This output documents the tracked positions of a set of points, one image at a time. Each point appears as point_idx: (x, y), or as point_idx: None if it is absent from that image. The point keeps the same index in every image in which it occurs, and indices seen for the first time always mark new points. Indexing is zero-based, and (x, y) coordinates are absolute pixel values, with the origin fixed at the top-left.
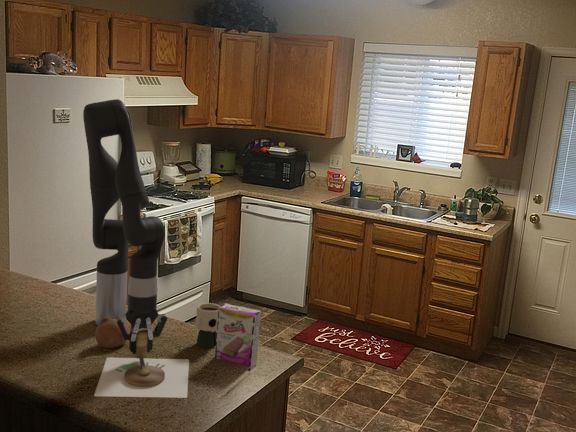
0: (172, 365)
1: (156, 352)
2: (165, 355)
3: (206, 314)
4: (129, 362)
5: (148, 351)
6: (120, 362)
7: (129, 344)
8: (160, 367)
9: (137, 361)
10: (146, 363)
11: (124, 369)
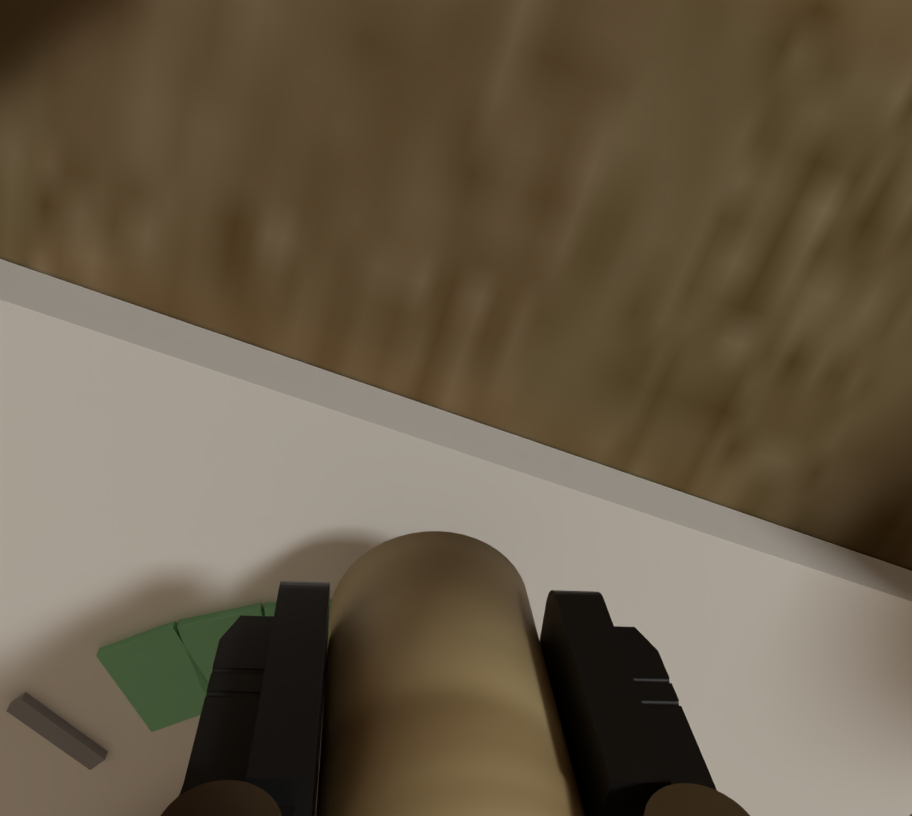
0: (769, 744)
1: (846, 90)
2: (908, 255)
3: None
4: (255, 541)
5: None
6: (115, 511)
7: (203, 717)
8: None
9: (380, 541)
10: None
11: (144, 711)
